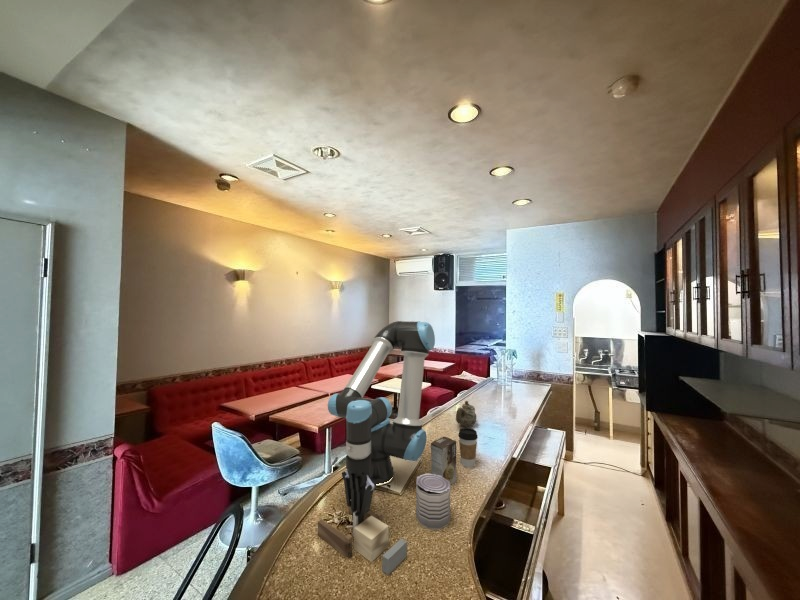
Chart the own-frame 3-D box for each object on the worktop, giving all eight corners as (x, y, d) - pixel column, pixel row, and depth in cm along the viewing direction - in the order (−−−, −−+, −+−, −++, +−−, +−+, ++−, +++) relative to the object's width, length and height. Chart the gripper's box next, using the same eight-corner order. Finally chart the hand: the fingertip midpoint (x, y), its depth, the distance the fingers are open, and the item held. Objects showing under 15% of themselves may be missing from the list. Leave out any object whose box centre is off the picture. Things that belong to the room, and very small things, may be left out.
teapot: (464, 419, 193) (464, 394, 193) (482, 423, 186) (482, 398, 186) (448, 430, 175) (448, 403, 176) (467, 435, 168) (467, 407, 169)
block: (371, 535, 94) (371, 515, 94) (388, 546, 90) (388, 525, 90) (354, 549, 89) (354, 528, 89) (371, 562, 84) (371, 539, 84)
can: (415, 506, 108) (415, 471, 108) (448, 507, 108) (448, 472, 108) (416, 529, 97) (416, 490, 97) (452, 530, 96) (452, 491, 97)
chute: (352, 511, 105) (352, 496, 105) (382, 530, 96) (382, 513, 96) (317, 535, 94) (317, 517, 94) (348, 558, 85) (348, 539, 85)
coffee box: (444, 475, 128) (444, 435, 129) (457, 481, 124) (457, 440, 124) (430, 483, 122) (430, 442, 122) (443, 490, 117) (443, 447, 118)
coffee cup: (454, 464, 137) (454, 430, 137) (464, 457, 143) (464, 425, 143) (471, 471, 131) (471, 435, 131) (481, 464, 137) (481, 430, 137)
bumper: (401, 552, 88) (401, 538, 88) (406, 556, 86) (406, 541, 86) (382, 571, 81) (382, 555, 81) (388, 575, 80) (388, 559, 80)
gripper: (335, 451, 95) (334, 530, 94) (364, 465, 86) (363, 552, 86) (353, 443, 100) (352, 517, 100) (382, 456, 92) (382, 536, 92)
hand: (357, 533), depth 93 cm, fingers closed
